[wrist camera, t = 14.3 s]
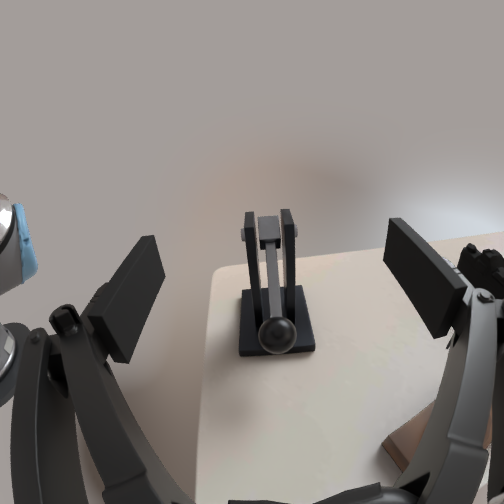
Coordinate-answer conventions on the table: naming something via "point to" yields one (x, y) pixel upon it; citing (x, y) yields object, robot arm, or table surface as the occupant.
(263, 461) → the table surface
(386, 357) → the table surface
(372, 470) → the table surface
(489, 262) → the film camera
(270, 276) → the switch lever
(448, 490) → the robot arm
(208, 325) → the table surface
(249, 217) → the black lever stand
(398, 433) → the brown button base
